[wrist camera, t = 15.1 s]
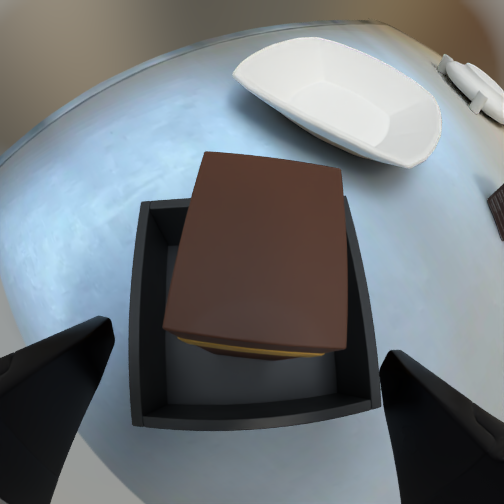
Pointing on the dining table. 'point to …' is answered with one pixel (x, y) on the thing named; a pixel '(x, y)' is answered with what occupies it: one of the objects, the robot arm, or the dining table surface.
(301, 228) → the chocolate carton
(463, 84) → the round stand with pegs
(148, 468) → the dining table surface
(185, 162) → the dining table surface
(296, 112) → the bowl
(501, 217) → the box
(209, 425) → the open storage bin
